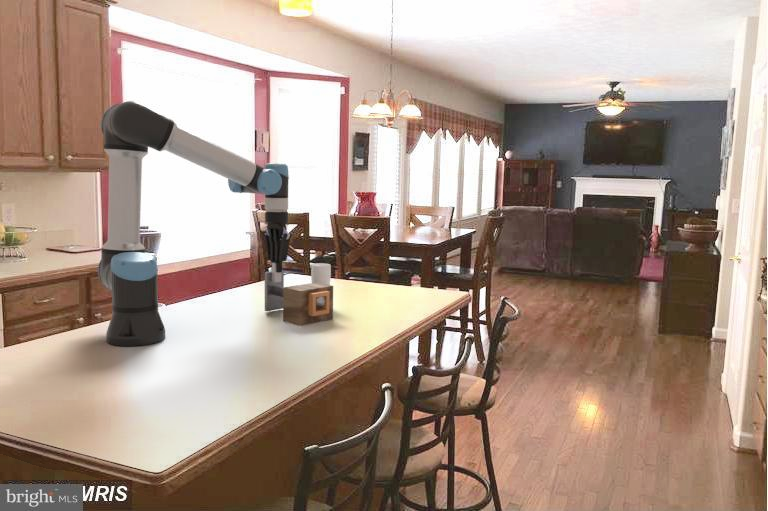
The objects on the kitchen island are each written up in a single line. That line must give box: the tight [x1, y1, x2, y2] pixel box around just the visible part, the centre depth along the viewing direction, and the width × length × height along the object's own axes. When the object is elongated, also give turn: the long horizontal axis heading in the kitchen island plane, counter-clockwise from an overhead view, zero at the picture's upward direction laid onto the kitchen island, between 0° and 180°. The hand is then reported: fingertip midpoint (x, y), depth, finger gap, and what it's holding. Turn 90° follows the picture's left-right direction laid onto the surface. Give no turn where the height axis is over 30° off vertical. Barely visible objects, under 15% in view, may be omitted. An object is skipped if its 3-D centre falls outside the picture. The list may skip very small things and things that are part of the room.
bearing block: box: [282, 282, 334, 327], centre depth 202 cm, size 14×8×11 cm, turn 138°
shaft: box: [264, 269, 325, 312], centre depth 206 cm, size 7×24×13 cm, turn 47°
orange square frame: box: [308, 291, 330, 316], centre depth 199 cm, size 7×2×7 cm, turn 138°
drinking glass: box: [310, 262, 332, 285], centre depth 222 cm, size 7×7×15 cm
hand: (276, 281), depth 212 cm, fingers closed
